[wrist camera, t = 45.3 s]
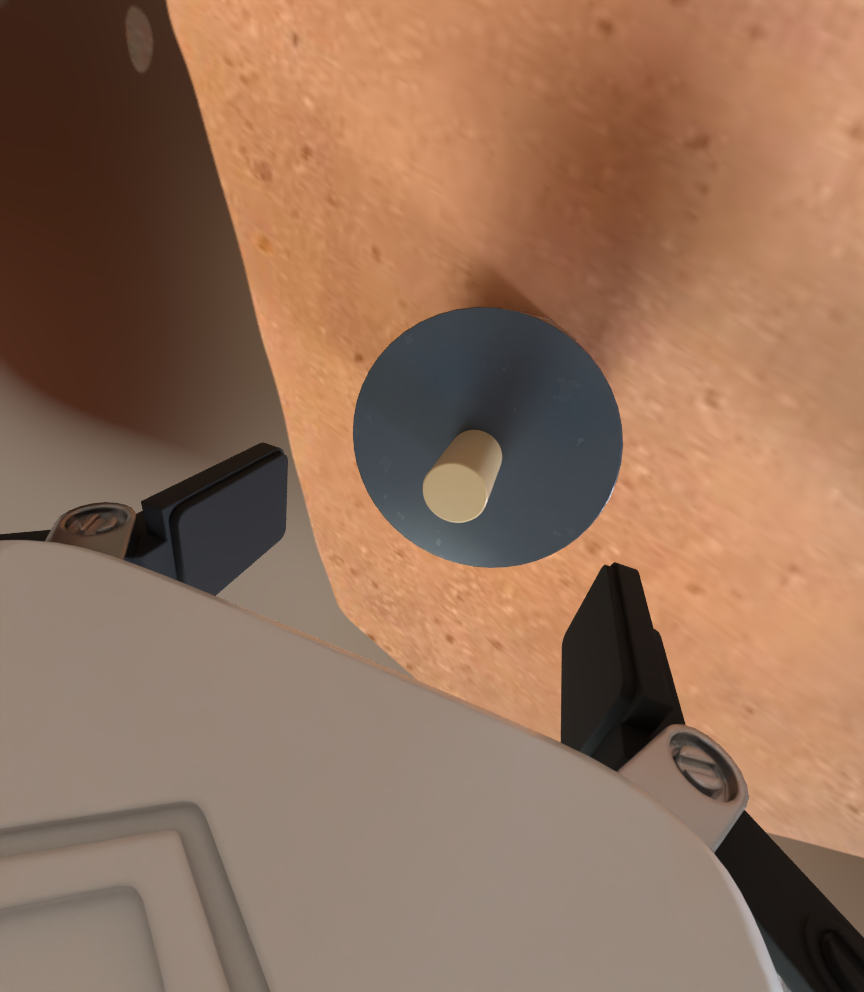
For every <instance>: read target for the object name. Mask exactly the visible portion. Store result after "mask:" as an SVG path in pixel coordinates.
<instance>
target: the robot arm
mask: <svg viewBox="0 0 864 992" xmlns="http://www.w3.org/2000/svg"><path fill="white" fill-rule="evenodd" d="M287 469H288V458H287V456H286V455H284V452H283V450H282V449H281V448H278V447H275V446H272V445H269V444H266V443H260V444H258V445H256V446H253V447H251V448H249V449H247V450H245V451H243V452H241V453H239V454H237V455H235V456H233V457H231V458H229V459H227V460H225V461H223V462H221V463H219V464H217V465H214V466H212V467H210V468H208V469H206V470H204V471H202V472H200V473H198V474H196V475H194V476H192V477H190V478H188V479H186V480H184V481H182V482H180V483H178V484H176V485H173V486H171V487H169V488H167V489H165V490H164V491H161V492H160V493H157V494H155V495H153V496H151V497H149V498H147V499H145V500H143V501H141V504H142V509H143V511H141V512H139V513H137V514H135V511H134V510H133V509H132V508H131V507H129V506H127V505H123V504H119V503H108V502H104V503H93V504H88V505H84V506H80V507H77V508H75V509H72V510H70V511H68V512H66V513H65V514H63V515H61V516H60V517H59V519H58V520H57V521H56V522H55V524H54V526H53V527H52V529H51V530H43V531H33V532H21V533H11V534H0V992H864V938H863V936H861V934H860V933H859V932H858V931H857V930H856V929H855V928H854V927H853V926H852V925H851V924H850V923H849V921H848V920H847V919H846V918H845V917H844V916H843V915H842V914H841V913H840V912H839V911H838V910H837V909H836V908H835V907H834V905H833V904H832V903H831V902H830V901H829V900H828V899H827V898H826V897H825V896H824V895H823V894H822V893H821V891H820V890H819V889H818V888H817V887H816V886H815V885H814V884H813V883H812V882H811V881H810V880H809V879H808V877H807V876H805V874H804V873H803V872H802V871H801V870H800V869H799V868H798V867H797V866H796V865H795V864H794V863H793V861H792V860H791V859H790V858H789V857H788V856H787V855H786V854H785V853H784V852H783V851H782V850H781V849H780V847H779V846H778V845H777V844H776V843H775V842H774V841H773V840H772V839H771V838H770V837H769V836H768V835H767V834H766V832H765V831H764V830H763V829H762V828H761V827H760V826H759V825H758V824H757V823H756V822H755V821H754V820H753V818H752V817H751V816H750V815H749V814H748V813H747V812H746V811H745V810H744V809H745V808H746V806H747V802H748V799H749V795H748V788H747V784H746V782H745V779H744V777H743V775H742V773H741V771H740V769H739V768H738V766H737V765H736V763H735V762H734V761H733V759H732V758H731V757H730V756H729V754H728V753H727V752H726V751H725V750H724V749H723V748H722V747H721V746H720V745H719V744H718V743H716V742H715V741H714V740H713V739H711V738H710V737H709V736H708V735H706V734H704V733H702V732H701V731H699V730H697V729H695V728H692V727H689V726H686V725H685V721H684V718H683V714H682V711H681V707H680V703H679V700H678V696H677V693H676V689H675V685H674V682H673V678H672V675H671V671H670V667H669V664H668V660H667V657H666V653H665V649H664V646H663V642H662V639H661V636H660V634H659V632H658V631H657V630H655V629H653V625H652V621H651V617H650V614H649V610H648V606H647V602H646V598H645V594H644V591H643V587H642V583H641V579H640V575H639V572H638V570H636V569H633V568H630V567H627V566H624V565H621V564H618V563H616V562H615V563H613V564H612V565H611V566H607V565H604V566H603V567H602V568H601V570H600V572H599V573H598V575H597V577H596V579H595V581H594V583H593V584H592V586H591V588H590V590H589V592H588V593H587V595H586V597H585V599H584V601H583V603H582V604H581V606H580V608H579V610H578V612H577V613H576V615H575V617H574V619H573V621H572V622H571V624H570V626H569V628H568V630H567V632H566V633H565V636H564V639H563V643H562V683H561V743H560V742H558V741H556V740H554V739H552V738H550V737H547V736H545V735H543V734H541V733H538V732H536V731H534V730H532V729H529V728H527V727H525V726H523V725H520V724H518V723H516V722H513V721H511V720H509V719H507V718H504V717H502V716H500V715H498V714H495V713H493V712H491V711H489V710H486V709H484V708H482V707H479V706H477V705H475V704H472V703H470V702H468V701H465V700H463V699H460V698H458V697H456V696H453V695H451V694H449V693H446V692H444V691H442V690H439V689H437V688H434V687H432V686H430V685H427V684H425V683H423V682H420V681H418V680H416V679H413V678H411V677H408V676H406V675H404V674H401V673H399V672H396V671H394V670H392V669H390V668H387V667H385V666H382V665H380V664H378V663H375V662H373V661H371V660H368V659H366V658H363V657H361V656H359V655H356V654H354V653H351V652H349V651H346V650H344V649H342V648H340V647H337V646H335V645H332V644H330V643H327V642H325V641H323V640H320V639H318V638H316V637H313V636H311V635H308V634H306V633H303V632H301V631H299V630H296V629H294V628H292V627H289V626H287V625H284V624H282V623H280V622H277V621H274V620H272V619H270V618H267V617H265V616H262V615H260V614H258V613H255V612H253V611H250V610H248V609H245V608H243V607H241V606H238V605H236V604H233V603H231V602H228V601H226V600H224V599H221V598H219V597H216V595H217V594H218V593H219V592H220V591H221V590H223V589H224V588H225V587H226V586H227V585H228V584H229V583H231V582H232V581H233V580H234V579H235V578H236V577H238V576H239V575H240V574H241V573H242V572H244V571H245V570H246V569H247V568H248V567H249V566H250V565H252V564H253V563H254V562H255V561H256V560H257V559H259V558H260V557H261V556H262V555H263V554H264V553H266V552H267V551H268V550H269V549H270V548H271V547H272V546H273V545H275V544H276V543H277V542H278V541H280V540H281V539H282V537H283V535H284V533H285V530H286V504H287Z"/></svg>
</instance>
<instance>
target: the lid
mask: <svg viewBox="0 0 864 992" xmlns="http://www.w3.org/2000/svg"><path fill="white" fill-rule="evenodd" d="M353 442H354V451H355V457H356V462H357V466H358V469H359V472H360V475H361V478H362V481H363V483H364V485H365V487H366V490H367V492H368V494H369V495H370V497H371V499H372V500H373V502H374V504H375V505H376V507H377V508H378V509H379V511H380V512H381V513H382V515H383V516H384V517H385V518H386V519H387V520H388V522H389V523H390V524H391V525H392V526H393V527H394V528H395V529H396V530H397V531H399V532H400V533H401V534H402V535H403V536H404V537H406V538H407V539H408V540H410V541H411V542H413V543H414V544H416V545H417V546H418V547H420V548H422V549H424V550H426V551H428V552H429V553H431V554H434V555H436V556H438V557H441V558H443V559H446V560H449V561H452V562H456V563H459V564H464V565H469V566H475V567H488V568H495V567H510V566H517V565H522V564H526V563H530V562H533V561H537V560H539V559H542V558H544V557H547V556H549V555H552V554H553V553H555V552H557V551H559V550H561V549H562V548H564V547H566V546H567V545H569V544H570V543H571V542H573V541H574V540H575V539H577V538H578V537H579V536H580V535H581V534H582V533H583V532H584V531H585V530H587V529H588V528H589V527H590V526H591V524H592V523H593V522H594V521H595V519H596V518H597V517H598V516H599V514H600V513H601V512H602V510H603V508H604V507H605V505H606V503H607V502H608V500H609V498H610V496H611V494H612V491H613V489H614V486H615V484H616V482H617V478H618V474H619V470H620V466H621V460H622V449H623V437H622V424H621V419H620V414H619V410H618V406H617V403H616V400H615V398H614V395H613V392H612V390H611V387H610V386H609V384H608V382H607V380H606V378H605V377H604V375H603V373H602V371H601V369H600V368H599V367H598V365H597V364H596V363H595V362H594V360H593V359H592V358H591V356H590V355H589V354H588V353H587V352H586V351H585V350H584V349H583V348H582V347H581V346H580V345H579V344H578V343H577V342H576V341H575V340H574V339H573V338H571V337H570V336H569V335H567V334H566V333H564V332H563V331H562V330H560V329H559V328H557V327H556V326H554V325H552V324H550V323H548V322H546V321H544V320H542V319H540V318H538V317H535V316H532V315H529V314H526V313H523V312H520V311H515V310H510V309H504V308H497V307H473V308H464V309H456V310H453V311H449V312H445V313H441V314H438V315H435V316H433V317H431V318H428V319H426V320H424V321H422V322H420V323H418V324H416V325H415V326H413V327H411V328H410V329H408V330H407V331H405V332H404V333H402V334H401V335H400V336H399V337H398V338H396V339H395V340H394V341H393V342H392V343H391V344H390V345H389V346H388V347H387V348H386V349H385V350H384V351H383V352H382V354H381V355H380V356H379V357H378V359H377V360H376V362H375V363H374V364H373V366H372V367H371V369H370V370H369V372H368V374H367V377H366V379H365V381H364V383H363V385H362V387H361V390H360V393H359V396H358V399H357V403H356V409H355V414H354V423H353Z"/></svg>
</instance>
